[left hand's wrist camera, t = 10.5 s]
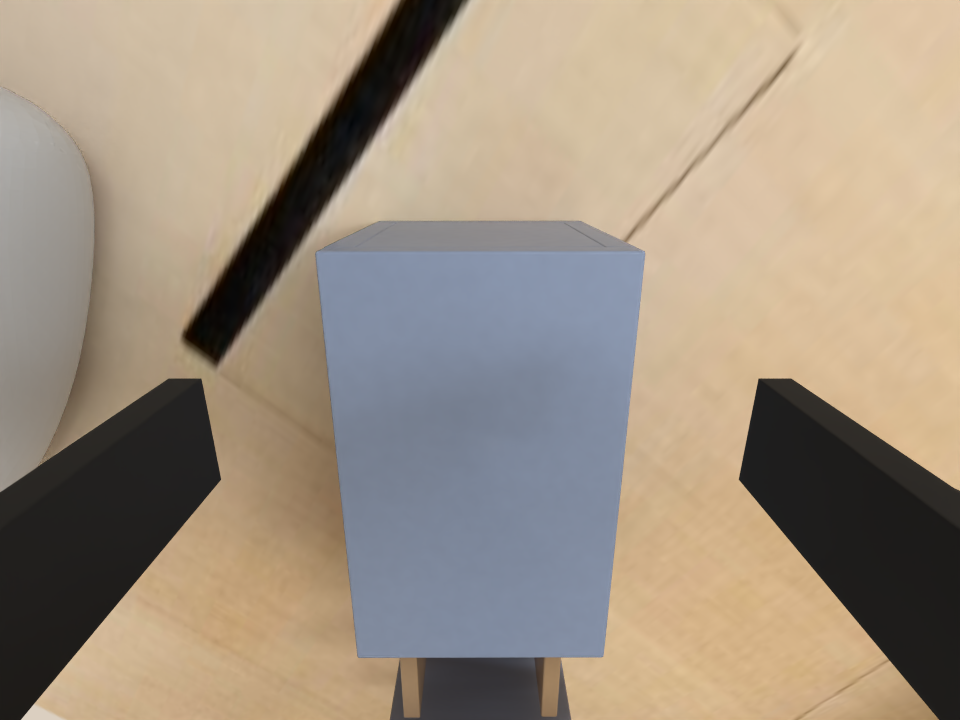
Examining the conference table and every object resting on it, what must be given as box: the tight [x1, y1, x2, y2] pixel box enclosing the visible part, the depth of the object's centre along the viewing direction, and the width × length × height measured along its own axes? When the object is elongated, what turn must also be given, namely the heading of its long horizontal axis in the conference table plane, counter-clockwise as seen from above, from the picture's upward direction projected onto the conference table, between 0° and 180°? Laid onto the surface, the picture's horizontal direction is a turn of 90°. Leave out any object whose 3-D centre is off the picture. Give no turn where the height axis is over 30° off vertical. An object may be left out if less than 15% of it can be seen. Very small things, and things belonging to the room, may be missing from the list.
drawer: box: [390, 657, 571, 720], centre depth 29 cm, size 21×9×9 cm, turn 0°
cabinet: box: [315, 221, 645, 658], centre depth 25 cm, size 17×11×11 cm, turn 0°
